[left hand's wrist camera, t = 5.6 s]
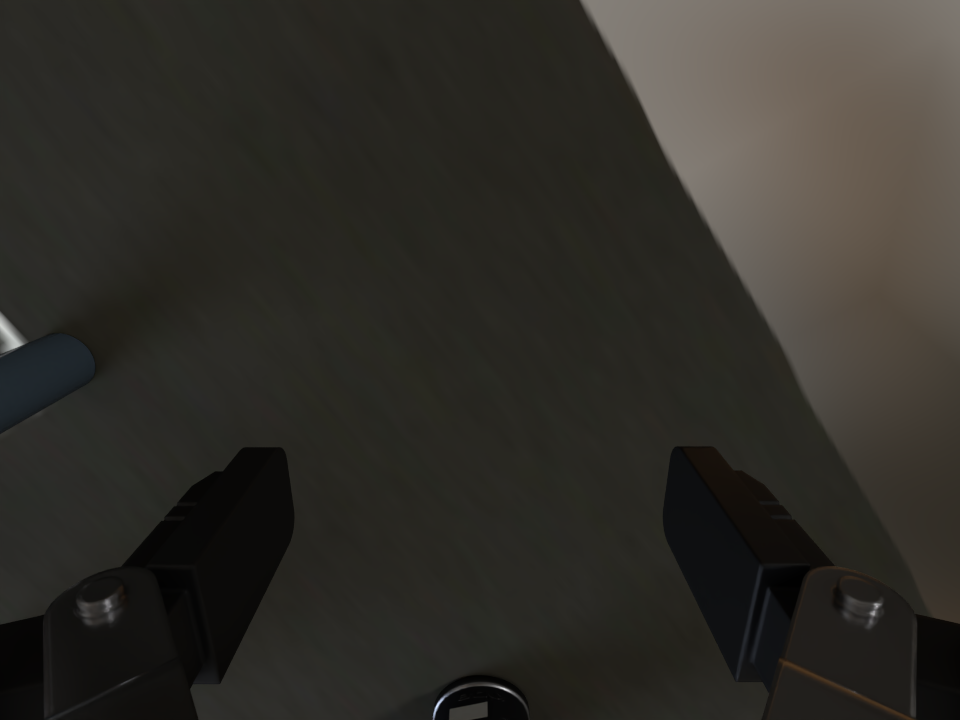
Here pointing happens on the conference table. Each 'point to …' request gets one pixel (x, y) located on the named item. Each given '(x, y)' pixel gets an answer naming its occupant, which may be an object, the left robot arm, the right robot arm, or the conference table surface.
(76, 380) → the dark blue cylinder
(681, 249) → the conference table surface
